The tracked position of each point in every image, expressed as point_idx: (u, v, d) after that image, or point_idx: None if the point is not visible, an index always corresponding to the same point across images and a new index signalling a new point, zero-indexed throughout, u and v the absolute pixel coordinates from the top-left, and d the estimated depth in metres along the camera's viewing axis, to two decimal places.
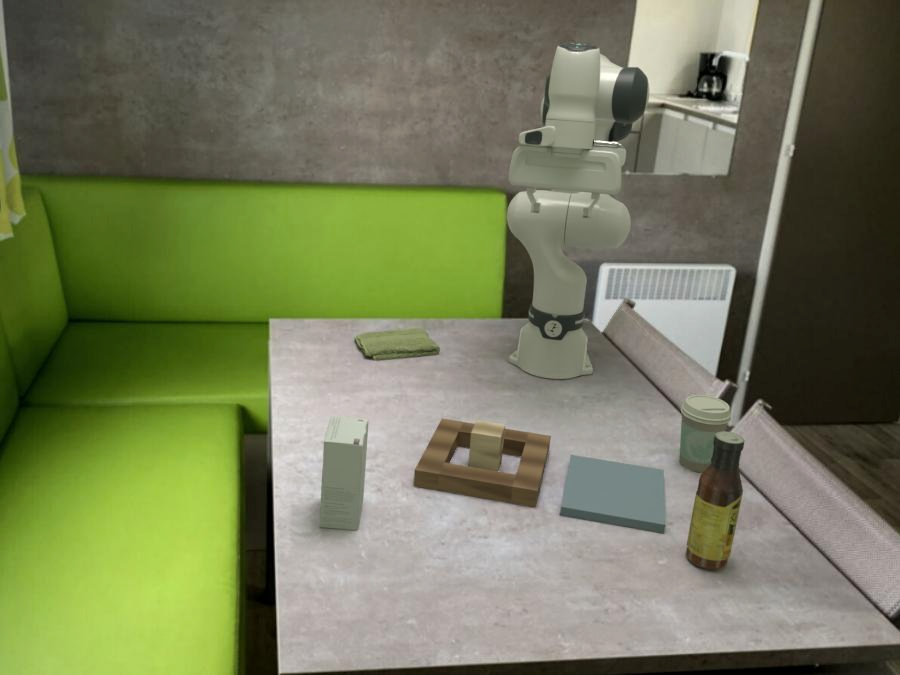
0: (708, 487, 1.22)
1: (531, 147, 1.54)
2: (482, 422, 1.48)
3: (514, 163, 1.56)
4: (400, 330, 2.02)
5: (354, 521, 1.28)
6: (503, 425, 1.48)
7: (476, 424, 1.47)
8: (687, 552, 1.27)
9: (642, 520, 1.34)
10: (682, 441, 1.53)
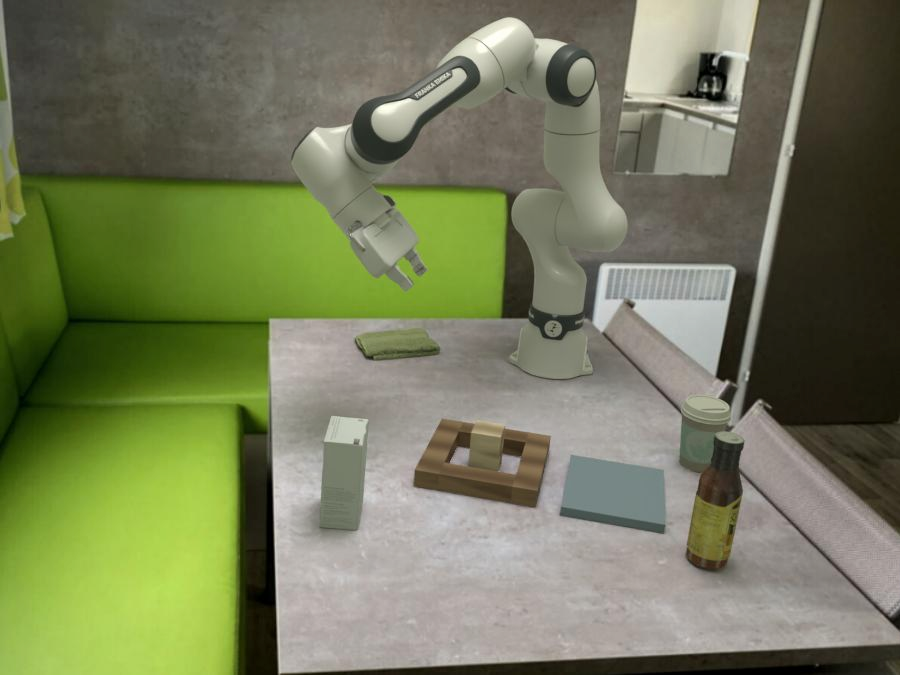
0: (708, 487, 1.22)
1: None
2: (482, 422, 1.48)
3: None
4: (400, 330, 2.02)
5: (354, 521, 1.28)
6: (503, 425, 1.48)
7: (476, 424, 1.47)
8: (687, 552, 1.27)
9: (642, 520, 1.34)
10: (682, 441, 1.53)
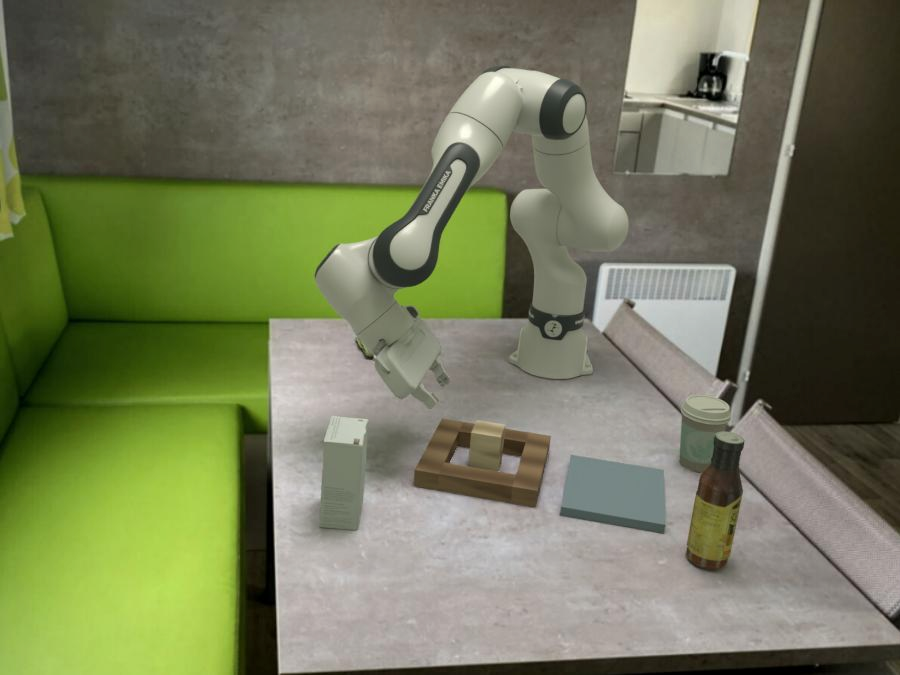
0: (708, 487, 1.22)
1: None
2: (482, 422, 1.48)
3: None
4: None
5: (354, 521, 1.28)
6: (503, 425, 1.48)
7: (476, 424, 1.47)
8: (687, 552, 1.27)
9: (642, 520, 1.34)
10: (682, 441, 1.53)
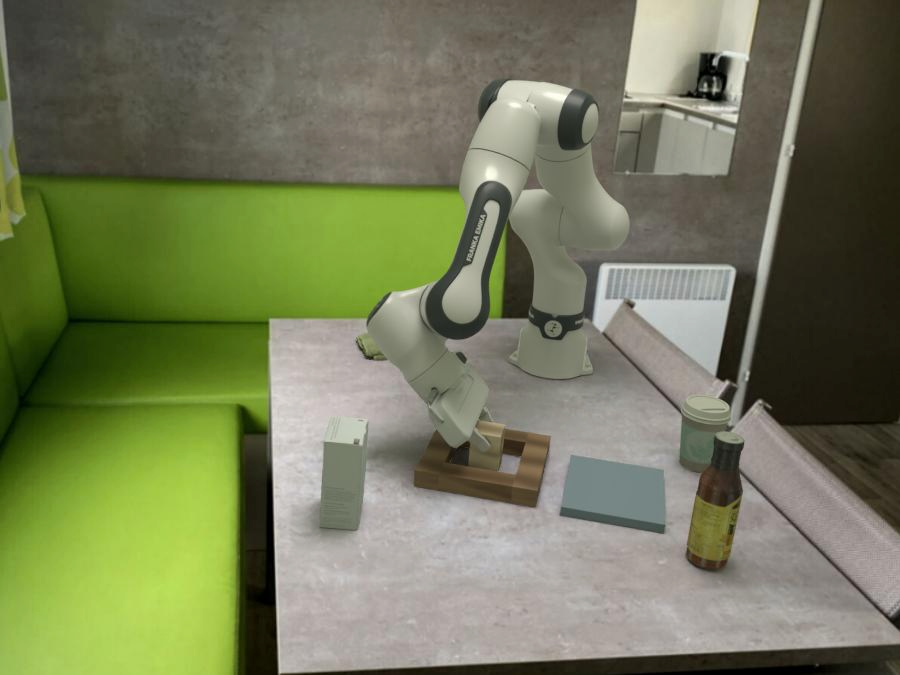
0: (708, 487, 1.22)
1: None
2: (482, 422, 1.48)
3: None
4: None
5: (354, 521, 1.28)
6: (503, 425, 1.48)
7: (476, 424, 1.47)
8: (687, 552, 1.27)
9: (642, 520, 1.34)
10: (682, 441, 1.53)
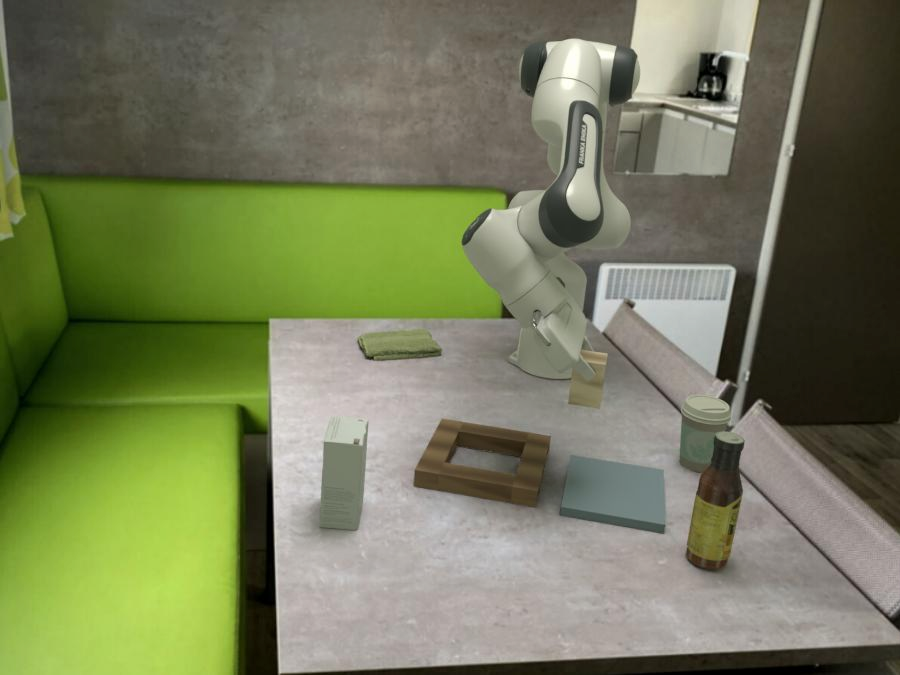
0: (708, 487, 1.22)
1: None
2: (583, 351, 1.39)
3: None
4: (404, 331, 2.02)
5: (354, 521, 1.28)
6: (606, 354, 1.38)
7: None
8: (687, 552, 1.27)
9: (642, 520, 1.34)
10: (682, 441, 1.53)
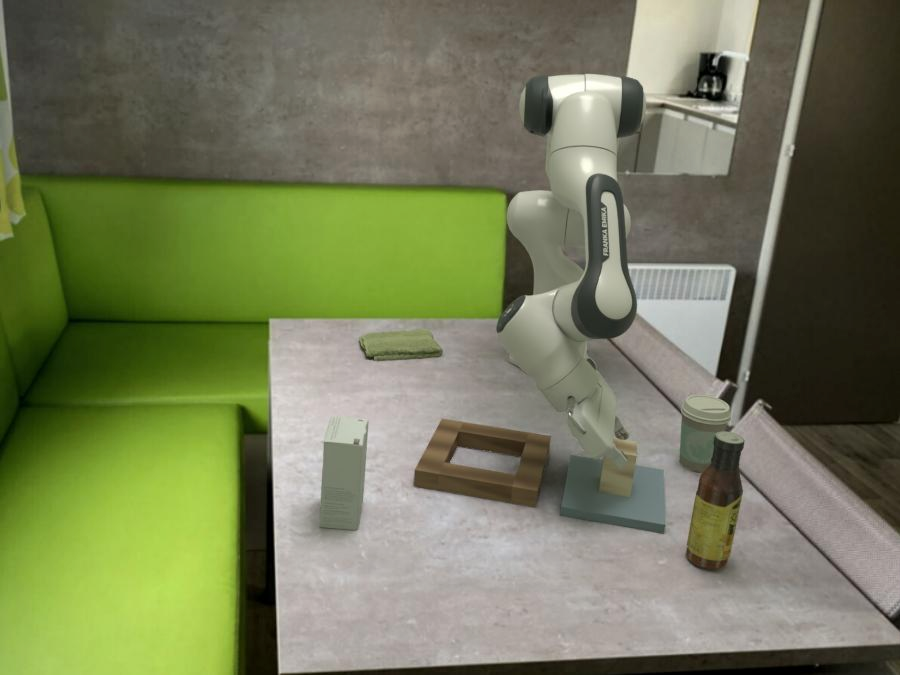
0: (708, 487, 1.22)
1: None
2: (613, 439, 1.42)
3: None
4: (405, 331, 2.02)
5: (354, 521, 1.28)
6: (635, 443, 1.42)
7: None
8: (687, 552, 1.27)
9: (642, 520, 1.34)
10: (682, 441, 1.53)
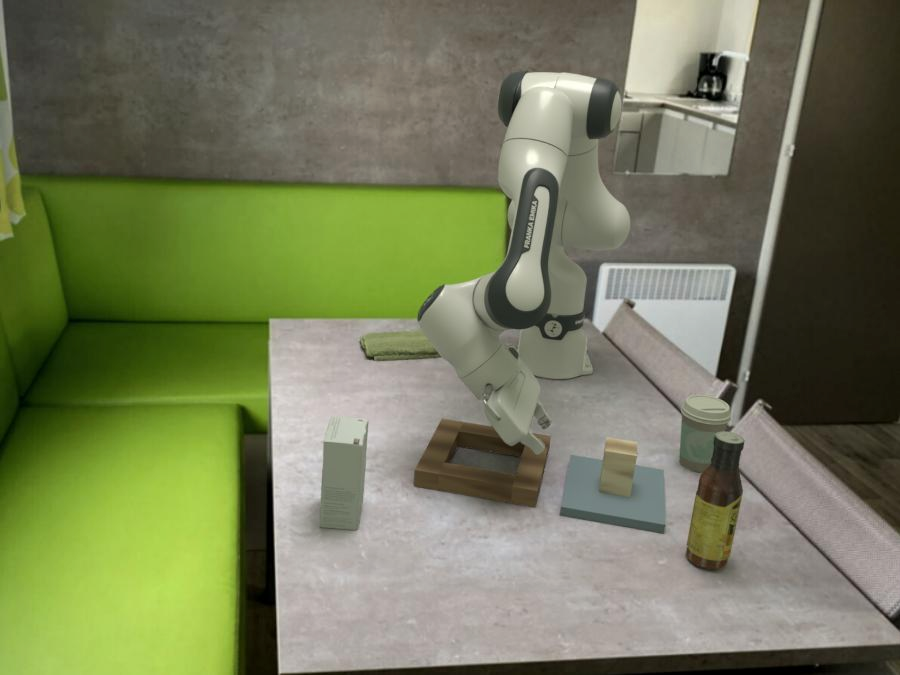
0: (708, 487, 1.22)
1: None
2: (613, 439, 1.42)
3: None
4: (406, 331, 2.02)
5: (354, 521, 1.28)
6: (635, 443, 1.42)
7: (607, 442, 1.41)
8: (687, 552, 1.27)
9: (642, 520, 1.34)
10: (682, 441, 1.53)
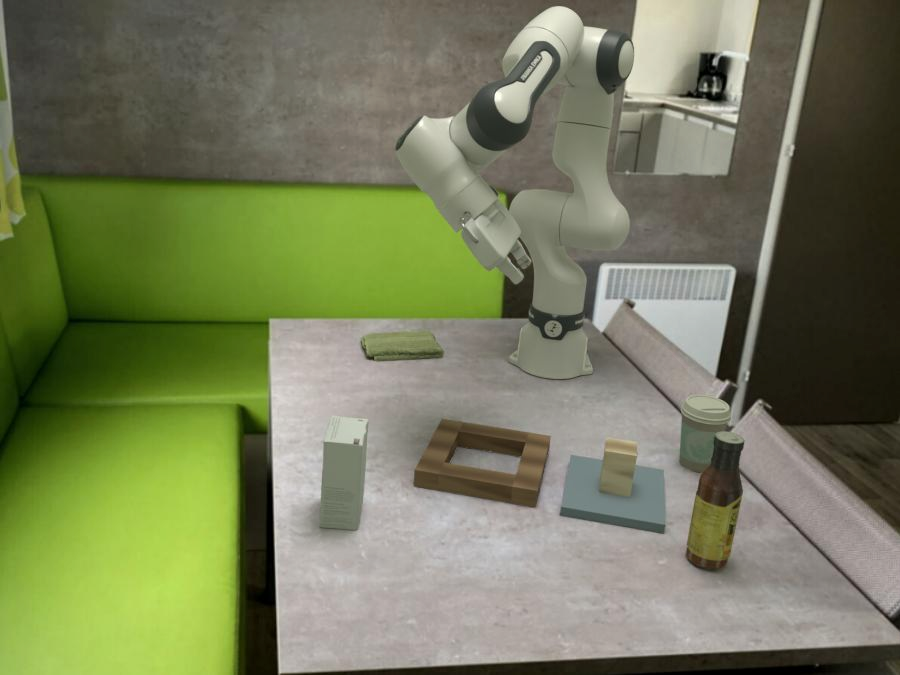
0: (708, 487, 1.22)
1: None
2: (613, 439, 1.42)
3: None
4: (407, 332, 2.01)
5: (354, 521, 1.28)
6: (635, 443, 1.42)
7: (607, 442, 1.41)
8: (687, 552, 1.27)
9: (642, 520, 1.34)
10: (682, 441, 1.53)
